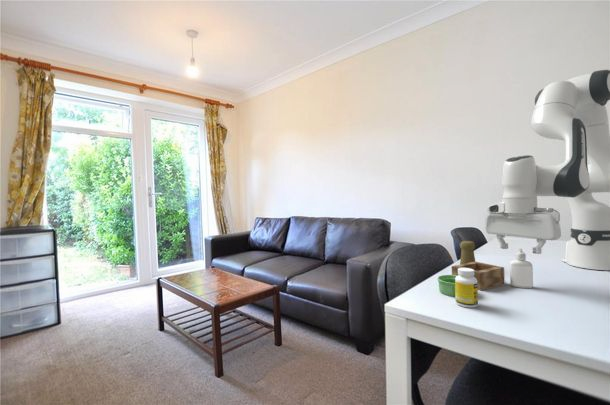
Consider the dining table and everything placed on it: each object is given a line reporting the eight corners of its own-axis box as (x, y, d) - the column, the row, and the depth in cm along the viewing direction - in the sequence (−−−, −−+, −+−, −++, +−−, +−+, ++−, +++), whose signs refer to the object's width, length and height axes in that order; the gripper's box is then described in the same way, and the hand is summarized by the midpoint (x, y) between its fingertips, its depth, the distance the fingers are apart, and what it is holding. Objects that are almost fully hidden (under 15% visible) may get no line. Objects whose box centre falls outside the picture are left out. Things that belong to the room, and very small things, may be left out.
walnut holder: (475, 276, 103) (475, 261, 103) (504, 284, 94) (504, 267, 93) (452, 282, 98) (451, 266, 98) (480, 290, 89) (479, 273, 89)
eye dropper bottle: (529, 290, 87) (528, 251, 87) (508, 285, 92) (507, 248, 92) (535, 287, 90) (534, 249, 89) (514, 282, 94) (513, 246, 94)
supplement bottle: (478, 309, 75) (477, 272, 75) (454, 306, 78) (453, 270, 78) (478, 302, 80) (477, 267, 79) (456, 299, 83) (455, 266, 82)
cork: (460, 270, 111) (459, 242, 111) (458, 266, 117) (457, 239, 116) (478, 271, 109) (477, 242, 109) (475, 267, 115) (474, 240, 114)
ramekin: (466, 300, 82) (465, 285, 82) (433, 294, 88) (433, 280, 88) (473, 291, 88) (473, 277, 88) (443, 286, 95) (442, 273, 94)
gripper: (565, 207, 82) (566, 255, 82) (493, 206, 100) (494, 245, 101) (553, 208, 79) (553, 258, 79) (481, 207, 98) (482, 247, 98)
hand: (519, 250), depth 90 cm, fingers open, 8 cm apart
